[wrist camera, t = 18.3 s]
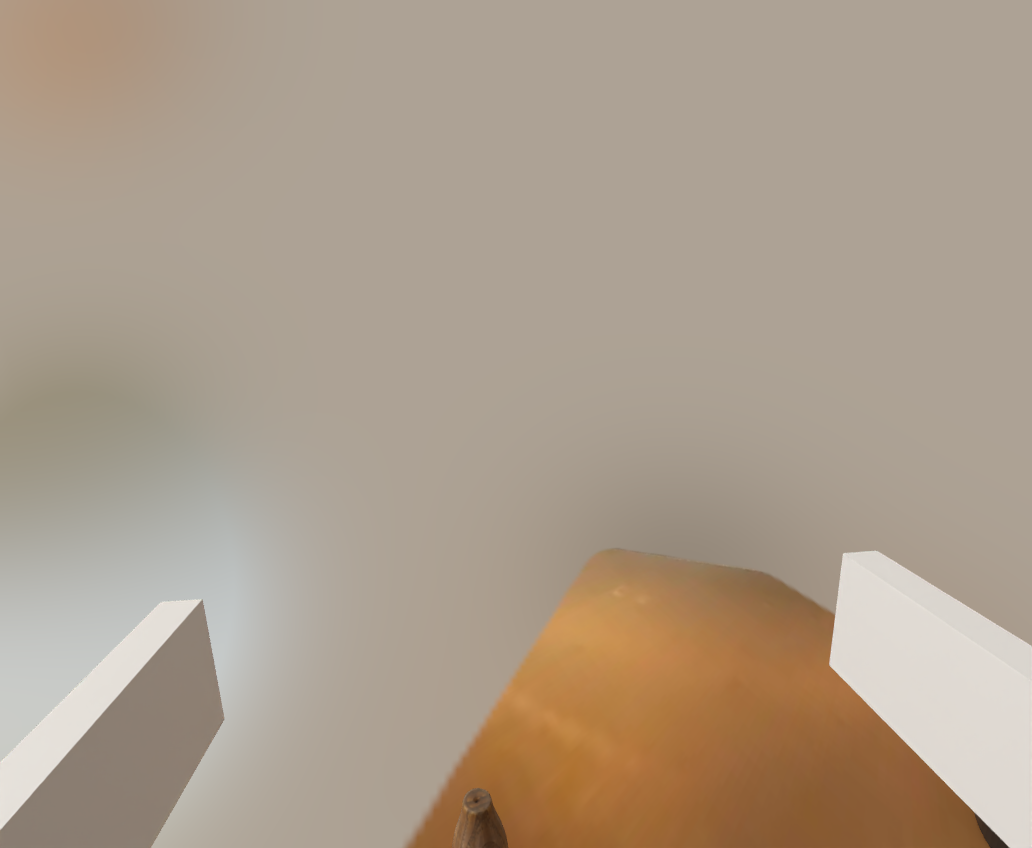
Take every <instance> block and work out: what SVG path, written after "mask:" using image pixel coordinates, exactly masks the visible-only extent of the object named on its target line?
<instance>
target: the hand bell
mask: <svg viewBox="0 0 1032 848" xmlns="http://www.w3.org/2000/svg"><path fill="white" fill-rule="evenodd" d="M452 848H508V843H507V837H506V834H505V830H504V827H503V825H502V822H501V820H500V818H499V816H498V814H497V812H496V810H495V808H494V806H493V803H492V799H491V796H490V794H489V793H488V792H487V791H486V790H483V789H480V788H476V789H472V790H470V791H469V792H467V794H466V795H465V797H464V799H463V804H462V810H461V814H460V817H459V820H458V823H457V826H456V830H455V833H454V838H453V845H452Z"/></svg>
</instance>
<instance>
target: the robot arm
mask: <svg viewBox="0 0 1032 848" xmlns="http://www.w3.org/2000/svg"><path fill="white" fill-rule="evenodd" d="M829 665H830V666H831V667H832V668H833V669H834V670H835V671H836V672H837V673H838V674H839V675H840V676H841V678H842V679H843V680H844V681H845V682H846V683H847V684H848V685H849V686H850V687H851V688H852V689H853V690H854V691H855V692H856V693H857V694H858V695H859V696H860V697H861V698H862V699H863V700H864V701H865V702H866V703H867V704H868V705H869V706H870V707H871V708H872V709H873V710H874V711H875V712H876V713H877V714H878V715H879V716H880V717H881V718H882V719H883V720H884V721H885V722H886V723H887V724H888V725H889V726H890V727H891V728H892V729H893V730H894V731H895V732H896V733H897V734H898V735H899V736H900V737H901V738H902V739H903V740H904V741H905V742H906V743H907V744H908V745H909V746H910V747H911V748H912V749H913V750H914V751H915V752H916V753H917V754H918V755H919V756H920V757H921V758H922V759H923V760H924V762H925V763H926V764H927V765H928V766H929V767H930V768H931V769H932V770H933V771H934V772H935V773H936V774H937V775H938V776H939V777H940V778H941V779H942V780H943V781H944V782H945V783H946V784H947V785H948V786H949V787H950V788H951V789H952V790H953V791H954V792H955V793H956V794H957V795H958V796H959V797H960V798H961V799H962V800H963V801H964V802H965V803H966V804H967V805H968V806H969V807H970V808H971V809H972V810H973V811H974V812H975V816H976V820H977V823H978V825H979V827H980V830H981V832H982V834H983V836H984V837H985V839H986V841H987V842H988V844H989V846H990V847H991V848H1032V646H1030V645H1029V644H1027V643H1026V642H1024V641H1022V640H1021V639H1019V638H1017V637H1016V636H1014V635H1013V634H1011V633H1009V632H1008V631H1006V630H1005V629H1003V628H1001V627H1000V626H998V625H997V624H995V623H993V622H992V621H990V620H988V619H987V618H985V617H984V616H982V615H980V614H979V613H977V612H975V611H974V610H972V609H970V608H969V607H967V606H965V605H964V604H962V603H961V602H959V601H958V600H956V599H954V598H953V597H951V596H949V595H948V594H946V593H945V592H943V591H941V590H940V589H938V588H937V587H935V586H933V585H932V584H930V583H928V582H927V581H925V580H923V579H922V578H920V577H919V576H917V575H915V574H913V573H912V572H910V571H909V570H907V569H906V568H904V567H902V566H901V565H899V564H898V563H896V562H894V561H893V560H891V559H889V558H888V557H886V556H884V555H883V554H881V553H880V552H878V551H868V552H855V553H843V559H842V567H841V575H840V584H839V592H838V600H837V608H836V616H835V624H834V632H833V640H832V648H831V656H830V664H829ZM223 721H224V714H223V709H222V703H221V698H220V692H219V687H218V682H217V676H216V670H215V665H214V659H213V654H212V649H211V643H210V638H209V632H208V627H207V621H206V616H205V610H204V605H203V600H202V599H197V600H182V601H168V602H161V603H160V604H159V605H158V606H157V607H156V608H155V609H153V610H152V612H150V614H148V616H146V617H145V618H144V619H143V621H141V623H140V624H138V625H137V626H136V628H134V630H132V631H131V632H130V633H129V634H128V635H127V636H126V637H125V638H124V640H122V641H121V643H119V645H117V646H116V647H115V648H114V649H113V650H112V651H111V652H110V653H109V655H107V656H106V657H105V658H104V660H102V661H101V662H100V663H99V664H98V665H97V666H96V667H95V668H94V670H92V671H91V672H90V673H89V674H88V675H87V676H86V677H85V678H84V679H83V680H82V681H81V682H80V683H79V684H78V685H77V686H76V687H75V688H74V689H73V690H72V691H71V692H70V693H69V694H68V695H67V696H66V697H65V698H64V700H62V701H61V702H60V703H59V704H58V705H57V706H56V707H55V708H54V709H53V710H52V711H51V712H50V713H49V714H48V715H47V716H46V717H45V718H44V719H43V720H42V721H41V722H40V723H39V724H38V725H37V726H36V727H35V728H34V729H33V730H32V731H31V732H30V733H29V734H28V735H27V736H26V737H25V738H24V739H23V740H22V741H21V742H20V743H19V744H18V745H17V746H16V747H15V748H14V749H13V750H12V751H11V752H10V753H9V754H8V755H7V756H6V757H5V758H4V759H3V760H2V761H1V762H0V848H151V846H152V845H153V843H154V841H155V839H156V838H157V836H158V834H159V832H160V831H161V829H162V827H163V825H164V824H165V822H166V820H167V818H168V817H169V815H170V813H171V811H172V810H173V808H174V806H175V805H176V803H177V801H178V799H179V798H180V796H181V794H182V792H183V791H184V789H185V787H186V785H187V784H188V782H189V780H190V778H191V776H192V775H193V773H194V771H195V770H196V768H197V766H198V764H199V763H200V761H201V759H202V757H203V756H204V754H205V752H206V750H207V749H208V747H209V745H210V743H211V742H212V740H213V738H214V737H215V735H216V733H217V731H218V730H219V728H220V726H221V724H222V723H223Z"/></svg>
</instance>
